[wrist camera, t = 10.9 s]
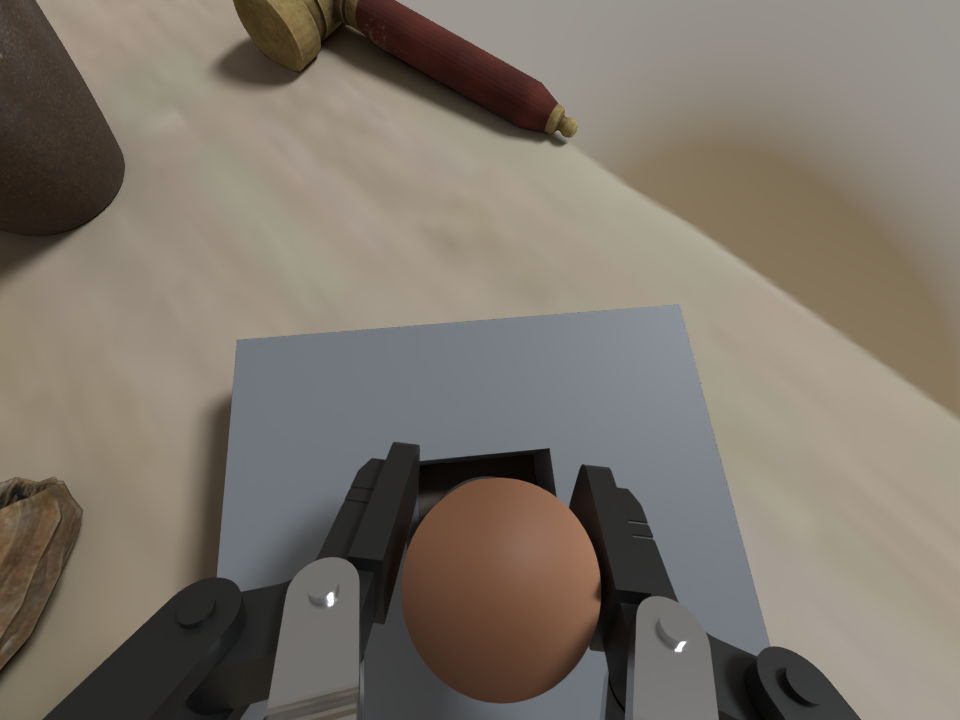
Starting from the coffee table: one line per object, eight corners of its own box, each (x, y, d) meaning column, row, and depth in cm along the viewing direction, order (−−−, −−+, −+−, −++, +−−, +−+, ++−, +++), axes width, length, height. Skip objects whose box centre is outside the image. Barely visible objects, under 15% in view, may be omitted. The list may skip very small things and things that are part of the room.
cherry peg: (522, 472, 18) (584, 464, 9) (535, 572, 17) (624, 692, 7) (432, 482, 18) (393, 484, 8) (438, 584, 17) (401, 724, 7)
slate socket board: (639, 337, 20) (679, 304, 16) (725, 713, 16) (808, 789, 12) (283, 367, 19) (236, 339, 15) (263, 776, 15) (190, 881, 11)
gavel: (629, 41, 22) (544, 160, 20) (599, 111, 27) (527, 215, 24) (329, -122, 24) (213, -31, 21) (347, -31, 28) (253, 54, 26)
